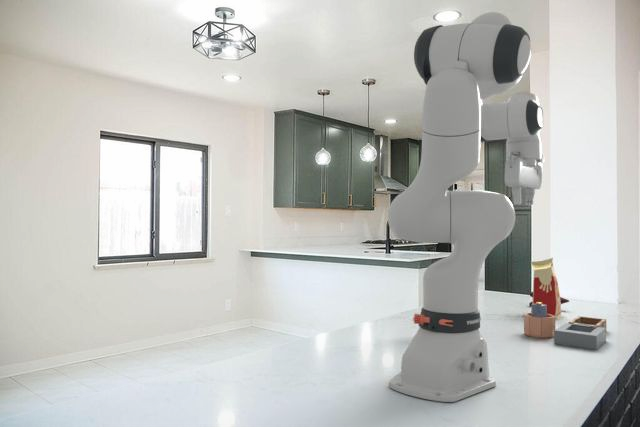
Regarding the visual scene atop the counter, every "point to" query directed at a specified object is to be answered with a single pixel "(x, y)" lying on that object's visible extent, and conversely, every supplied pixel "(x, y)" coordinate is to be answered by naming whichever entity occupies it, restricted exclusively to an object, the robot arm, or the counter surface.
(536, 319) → the cup
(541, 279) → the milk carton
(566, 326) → the grey rectangular frame box
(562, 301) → the icecream
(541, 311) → the cell
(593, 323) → the trough
